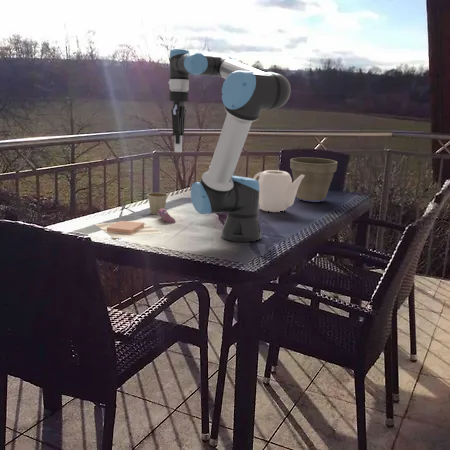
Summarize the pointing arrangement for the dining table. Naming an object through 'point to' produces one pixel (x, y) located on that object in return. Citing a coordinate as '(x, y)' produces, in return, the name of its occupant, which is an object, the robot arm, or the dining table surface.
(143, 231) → the board
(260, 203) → the watering can
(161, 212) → the video game controller
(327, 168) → the plant pot
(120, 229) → the tile
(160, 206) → the flower pot
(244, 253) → the dining table surface
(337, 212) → the dining table surface
